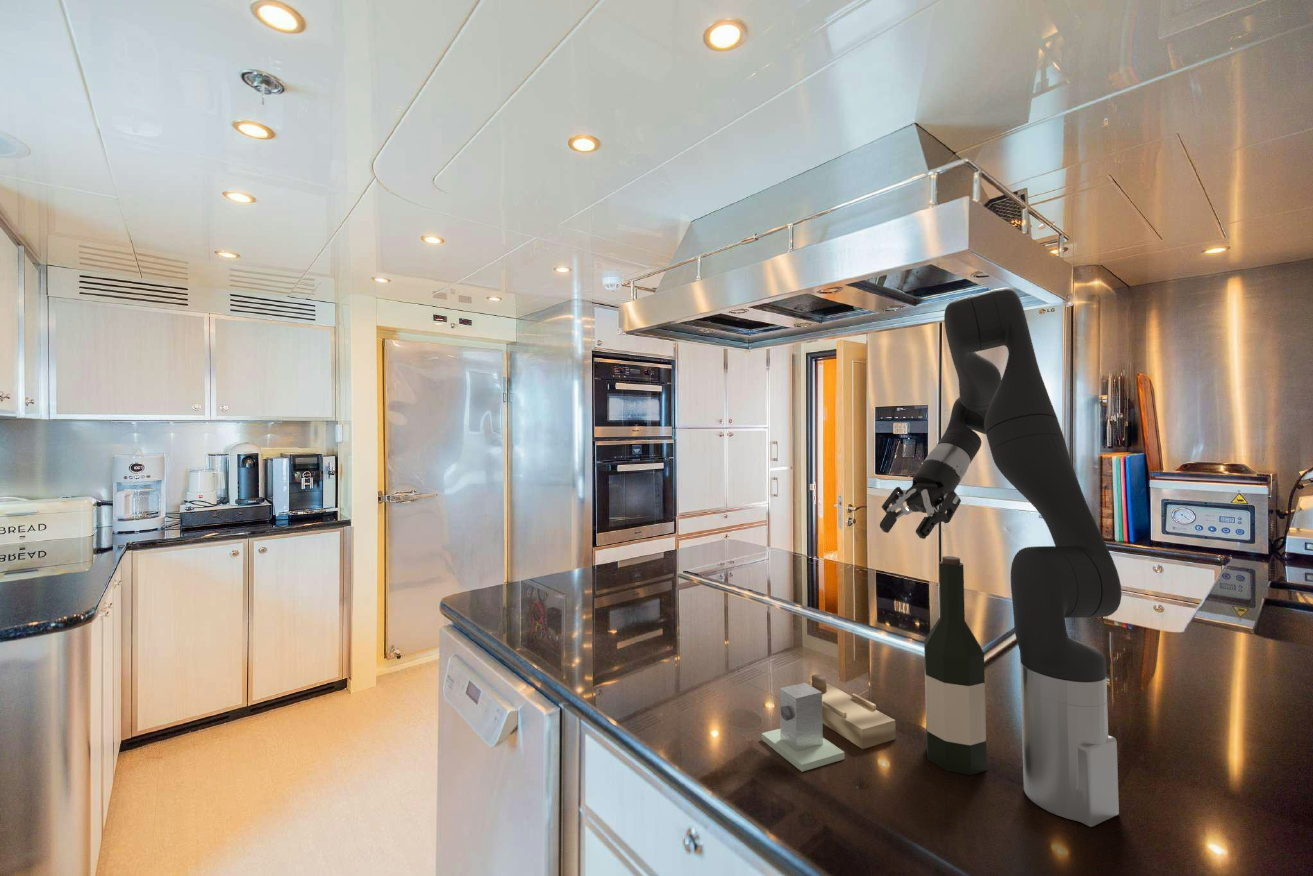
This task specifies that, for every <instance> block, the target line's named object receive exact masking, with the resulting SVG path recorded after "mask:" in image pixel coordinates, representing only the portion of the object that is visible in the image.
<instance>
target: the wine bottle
mask: <svg viewBox="0 0 1313 876" xmlns="http://www.w3.org/2000/svg"><path fill="white" fill-rule="evenodd" d="M941 559H942V560H941V561H939V562H938V564H939V565H938V567H939V569H938V574H939V605H940V606H939V607H940V609H939V610H940V612H939V613H940V617H939V618H938V619H937V621H936V622H935V624H934V625H933V627H932V628H931V630H930V631H929V633H928V634H927V635H926V637H925V638H924V640H923V646H924V648H923V651H924V689H925V690H924V691H925V693H924V694H925V695H924V696H925V734H926V735H925V737H926V738H925V740H926V741H925V742H926V755H927V760H928V761H930V762H932V763H934V764H935V765H936V766H938V767H940V768H941V769H943V770H944V771H948V772H953V773H958V774H963V775H969V776H973V775H976V774H979V773H983V772H986V771H988V764H987V762H988V759H987V758H988V757H987V723H986V722H987V721H986V717H987V716H986V715H987V714H986V712H987V711H986V682H985V681H986V680H985V674H986V673H985V653H984V650H983V649H982V646H981V645H980V643H979V641H978V640H977V638H976V637H975V635H974V633H973V631H972V629H971V628H970V627H969V625H968V623H967V622H966V617H965V614H966V613H965V611H966V610H965V579H964V578H965V576H964V575H965V572H964V564H963V563H962V562H961V558H960V557H958V556H948V555H947V556H942V557H941Z"/></svg>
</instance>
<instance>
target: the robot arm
mask: <svg viewBox="0 0 1313 876" xmlns="http://www.w3.org/2000/svg"><path fill="white" fill-rule="evenodd" d="M943 316H944V318H943V321H944V329H945V334H946V340H947V343H948V344H947V345H948V347H949V350H950V354H951V355H950V356H951V359H952V362H953V365H954V368H955V371H956V374H957V379H958V391H959V392H958V393H959V397H957V399H955V401H954V403H953V404H952V405H953V406H952V409H951V414H950V419H949V422H948V425H947V427H946V429H945V431H944V433H943V435H942V436H941V438H940V439H939V441H938V442H937V444H936V445H935V446H934V448H933V449H932V450H931V451H930V452H929V453H928V455H927V456H926V457H925V459H924V461H922V463H921V465H920V466H919V468H918V470H917V471H916V472H915V474H914V475H913V477H912V485H911V486H910V487H909V488H907V490H904V489H902V488H901V487H900V486H896V487H895V488H894V489H893V491H892V492H891V493H890V494H889V496H888V497H887V499H885V501H884V502H883V504H882V505H881V509H882V510H883V511H884V512H885V515H884V517H883V518H882V520H881V521H880V523H879V528H880V529H881V530H882V532H883V533H885V534H886V533H887V534H888V533H890V531H891V530H892V528H893V527H894V525H895V524H896V523H897V520H898V519H899V518H901V517H902V516H904V515H905V516H908V515H909V514H912V513H918V512H919V513H923V514H926V515H927V516H924V517H923V518H922V519H921V521H920V523H919V525H918V526H917V527H916V529H915V534H916V535H917V536H918V537H919V539H921V540H922V539H923V540H925V539H926V538H927V537H928V536H930V535H931V532H932V531H933V530H934V528H935V526H937V525H939V524H940V523H942V522H943V523H944V524H948V523H949V522H951V520H952V519H953V517H954V515H955V513H956V511H957V509H958V508H959V506H960V504H961V503H962V499H961V498H960V496H959V495H958V494H957V493H956V491H955V490H956V489H957V488H958V486H959V484H960V483H961V482H962V479H963V478H964V476H965V475H966V473H967V472H968V469H969V466H970V465H971V463H972V461H973V460H974V459H975V457H976V455H977V454H978V452H979V450H980V448H981V447H982V440H981V439H982V438H981V436H980V435H979V434H978V433H981V434H984V435H985V436H986V438H987V439H986V440H987V443H988V446H989V449H990V453H991V456H992V457H991V458H992V459H993V463H994V464H995V466H996V467H997V469H998V470H999V472H1000V473H1001V474H1002V476H1003V478H1005V479H1006V480H1007V481H1008V483H1010V484H1011V485H1012V487H1014V489H1016V491H1018V492H1019V493H1020V494H1021V495H1022V496H1023V497H1024V498H1025V500H1027V501H1028V503H1030V504H1031V505H1032V506H1033V507H1034V508H1035V510H1036V511H1037V512H1038V514H1040V516H1041V518H1042V519H1043V521H1044V523H1045V524H1046V526H1047V529H1048V530H1049V533H1050V536H1051V539H1052V540H1053V543H1054V545H1053V546H1051V545H1050V546H1047V545H1044V546H1027V547H1023V548H1021V549H1019V550H1018V551H1017V552H1016V553H1015V555H1014V556H1013V559H1012V562H1011V568H1010V590H1011V592H1010V593H1011V600H1012V613H1013V626H1014V627H1013V629H1014V634H1015V639H1016V642H1017V646H1018V649H1019V659H1020V660H1019V661H1020V700H1021V701H1020V703H1021V736H1022V737H1021V738H1022V739H1021V740H1022V741H1021V743H1022V744H1021V745H1022V767H1023V768H1022V775H1023V776H1022V777H1023V791H1024V794H1025V795H1026V797H1027V798H1028V799H1029V800H1030V801H1031V802H1033V803H1034V804H1035V805H1037V806H1038V807H1040V808H1041V809H1043V810H1045V811H1047V812H1048V813H1051V814H1054V815H1056V816H1059V817H1062V818H1064V819H1067V820H1072V821H1075V822H1080V823H1082V824H1084V826H1085V825H1086V826H1087V827H1089V828H1093V827H1095V826H1096V825H1099V824H1101V823H1103V822H1105V821H1107V820H1110V819H1112V818H1114V817H1116V816H1118V815H1119V813H1120V811H1119V810H1120V809H1119V806H1120V805H1119V779H1118V778H1119V776H1118V774H1119V773H1118V745H1117V743H1118V742H1117V738H1115V737H1114V736H1111V735H1110V734H1109V724H1108V723H1109V722H1108V721H1109V720H1108V719H1109V717H1108V716H1109V715H1108V690H1107V689H1108V688H1107V684H1108V683H1107V661H1106V657H1105V655H1104V654H1103V653H1102V652H1101V651H1100V650H1099V649H1097V648H1095V647H1094V646H1092V645H1089V644H1087V643H1086V642H1082V641H1080V640H1077V639H1074V638H1073V639H1072V638H1070V637H1069V635H1068V630H1067V625H1066V624H1067V623H1066V619H1073V618H1075V619H1078V618H1079V619H1080V618H1081V619H1082V618H1083V619H1084V618H1105V617H1110V616H1111V615H1113V614H1114V613H1115V612H1117V611H1118V609H1119V607H1120V605H1121V600H1122V584H1121V581H1120V576H1119V572H1118V569H1117V567H1116V564H1115V562H1114V560H1113V557H1112V555H1111V552H1110V551H1109V548H1108V546H1107V543H1106V541H1105V540H1104V538H1103V535H1102V533H1101V531H1100V529H1099V527H1098V525H1097V523H1096V520H1095V518H1094V516H1093V515H1092V512H1091V510H1090V508H1089V505H1088V504H1087V501H1086V498H1085V495H1084V493H1083V490H1082V488H1081V484H1080V482H1079V480H1078V477H1077V475H1076V471H1075V469H1074V466H1073V464H1072V460H1071V458H1070V455H1069V454H1070V453H1069V451H1068V448H1067V443H1066V440H1065V437H1064V434H1063V431H1062V428H1061V425H1060V422H1059V419H1058V416H1057V413H1056V411H1055V409H1054V406H1053V403H1052V401H1051V398H1050V396H1049V393H1048V389H1047V388H1046V384H1045V382H1044V380H1043V377H1042V374H1041V370H1040V367H1039V364H1038V361H1037V357H1036V353H1035V348H1034V345H1033V341H1032V337H1031V334H1030V328H1029V324H1028V322H1027V321H1028V320H1027V317H1026V313H1025V310H1024V306H1023V303H1022V301H1021V299H1020V296H1019V295H1018V293H1017V292H1016V291H1015V289H1013V288H1011V287H1001V288H996V289H992V290H991V289H990V290H987V291H984V292H981V293H976V294H973V295H969V296H964V297H961V298H959V299H956V300H953V301H951V302H950V303H948V304H947V305H946V307H945V309H944V315H943ZM1002 346H1003V347H1004V346H1005V347H1006V348H1007V351H1008V352H1007V353H1008V354H1007V355H1008V357H1007V361H1006V365H1005V368H1004V372H1003V374H1002V375H1001V372H1000V370H999V369H998V367H997V366H996V365H995V364H994V363H993V362H992V360H990V359H987V358H986V357H984V356H982V355H981V354H979V353H978V352H982V351H986V350H990V349H994V348H999V347H1002ZM1001 376H1002V377H1001ZM904 503H906V506H907V507H905V505H904ZM939 506H940V507H939ZM898 509H900V510H898ZM897 510H898V511H897ZM896 511H897V512H896Z"/></svg>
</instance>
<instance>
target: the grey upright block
mask: <svg viewBox="0 0 1313 876" xmlns="http://www.w3.org/2000/svg"><path fill="white" fill-rule="evenodd" d="M779 724H780V725H779V727H780V728H779V729H780V740H782V741H783V742H784V743H785V744H787V745H788V746H789V747H791V748H792V749H793V750H795V751H796V752H799V751H802V750H806V749H809V748H813V747H816V746H820V745H823V738H824V735H823V733H824V732H823V731H824V730H823V729H824V728H823V725H824V724H823V721H822V692H821V691H819V690H817V689H816V688H814V687H812V685H810V684H808V683H807V682H801V683H798V684H793V685H787V686H784V687H779Z"/></svg>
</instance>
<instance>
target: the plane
mask: <svg viewBox="0 0 1313 876" xmlns="http://www.w3.org/2000/svg"><path fill="white" fill-rule="evenodd" d="M827 682H828V681H827V676H825V675H824V674H820V673H817V674H812V675H811V686H812V687H814V688H816V689H817V690H819V691H821V692H822V721H823V725H824V726H826V727H828V728H829V729H830V730H832V731H834V732H836V733H837V734H838V735H840V736H841V737H843V738H845V739H847V740H848V741H849V742H851V743H853V744H854V745H856V746H857V747H859V748H860V749H861V750H864V749H868V748H871V747H873V746H877V745H881V744H884V743H888V742H891V741H895V740H896V739H897V737H896V735H897V732H896V731H897V730H896V719H894V718H892V717H890V716H888V715H886V714H885V713H883V712H882V711H880V710H877V705H876V704H875V703H873V702H872V701H869V700H867V699H866V698H864V697H862V696H860V695H858V694H856V693H855V692H854V693H851V695H850V694H848V693H846V692H844V691H842V690H841V689H839V688H837V687H835V686H833V685H831V684H829V683H827Z"/></svg>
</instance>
